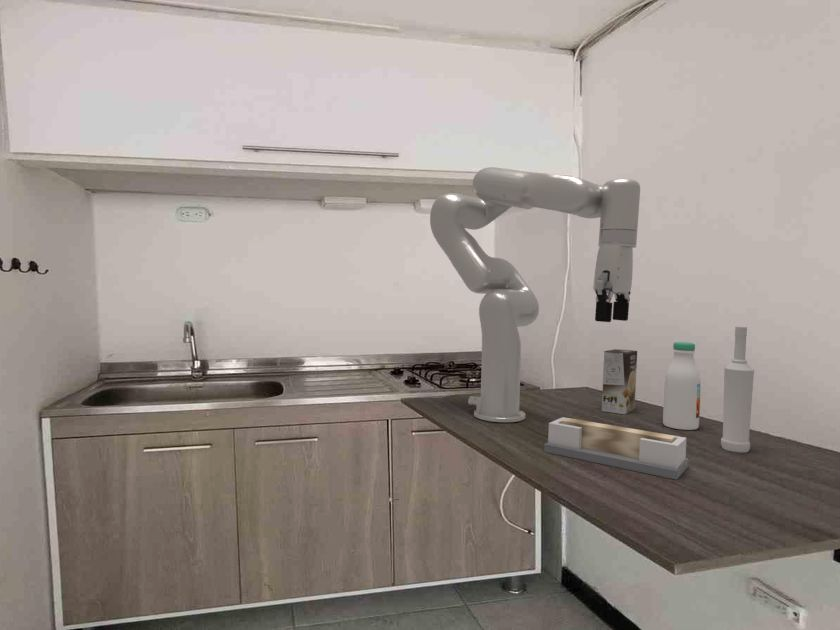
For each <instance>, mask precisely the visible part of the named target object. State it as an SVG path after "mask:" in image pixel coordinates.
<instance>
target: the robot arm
mask: <svg viewBox="0 0 840 630" xmlns="http://www.w3.org/2000/svg"><path fill="white" fill-rule="evenodd" d="M471 186H472V191H473V193H474V194H475V196H476V197H474V196H469V195H467V194H463V193H462V194H461V193H455V192H448V193H444V194H441V195H439V196H438V197H437V198H436V199H435V200H434V202H433V203H432V207H431V209H430V213H429V215H430V216H429V225H430V230H431V233H432V236H433V238H434V239H435V241H436V242H437V244H438V245H439V247H440V249H442V250H441V251H443V252H444V254H445V255H446V257H447V258H448V260H449V261H450V264H452V267H453V268H454V269H455V271H456V272H457V274H458V275H459V277H460V278H461V279H462V282H463V283H464V285H465V286H466V287H467V288H468V290H469V291H470V292H472V293H475V294H481V295H483V294H484V296H483V297H482V299H481V300H480V303H479V307H478V316H479V317H478V318H479V323H480V328H481V330H480V331H481V374H480V377H481V378H480V380H481V381H480V396H475V395H474V396H473V395H470V396H469V397H468V401H467V404H468V405H472V406H475V407H476V409H475V410H473V416H474V417H475V418H477V419H479V420H483V421H485V422H486V421H487V422H492V423H515V422H516V423H517V422H521V421H524V420H525V419H526V413H525V411H523V410H520V395H521V394H520V393H521V392H520V390H521V363H522V361H521V360H522V354H521V353H522V352H521V351H522V345H521V337H520V333H519V330H518V328H521V327H522V328H523V327H526V326H529V325H531V324H533V323H534V322H535V321H536V319H537V318H538V315H539V313H540V305H539V301H538V299H537V297H536V295H535V293H534V292H533V290H532V289H531V288H530V286H529V285H528V283H527V282H526V281H525V279H524V278H523V277H522V275H521V274H520V273H519V271H518V270H517V268H516V267H515V266H514V265H513V264H512V263H511V262H509V261H508V260H506V259H504V258H500V257H493V256H489V255H488V254H487V253H486V252H485V251H484V250H483V248H482V247H481V246H480V243H478V241H477V239H476V238H475V237H474V236H473V235H472V234H471V233H470V232H468V230H473V231H476V230H479V229H482V228H484V227H486V226H488V225H489V224H491V223H492V222H493V221H495V220H496V219H497V218H498V217H500V216H502V215H503V214H505V213H506V212H507V211H508V210H509V209H511V208H512V207H515V208H518V209H524V210H531V209H533V208H535V209H536V208H538V209H543V210H549V211H553V212H554V211H555V212H560V213H566V214H569V215H573V216H577V217H580V218H584V219H598V218H600V219H599V232H598V233H599V235H598V245H597V247H598V252H597V255H596V260H595V261H596V263H595V270H594V277H593V278H594V279H593V286H592V287H593V291H594V292H595V295H596V297H595V303H596V304H595V316H594V320H595V322H601V323H611V322H612V320H613V321H624V322H627V321H628V319H629V308H630V301H631V299H630V298H631V297H630V295H631V293H632V292H631V290H632V283H633V268H634V267H633V265H634V264H633V263H634V260H633V258H634V256H633V255H634V251H633V249H634V248H637V238H638V226H639V215H640V214H639V213H640V211H639V210H640V199H641V185H640V182H638V181H637V180H634V179H629V178H627V179H626V178H615V179H611V180H607V181H606V182H605V183H604V184H602V185H601V184H598V183H594V182H592V181H589V180H586V179H584V178H580V177H575V176H569V175H568V176H567V175H561V174H554V173H546V172H545V173H544V172H532V171H526V170H517V169H509V168H502V167H501V168H500V167H494V166H493V167H492V166H490V167H484V168H481V169H480V170H479V171H478V172H477V173H476V174H475V175H474V177H473V179H472V185H471ZM613 297H614V299H615V301H613V302H612V299H613Z"/></svg>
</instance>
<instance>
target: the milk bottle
mask: <svg viewBox="0 0 840 630" xmlns="http://www.w3.org/2000/svg"><path fill="white" fill-rule="evenodd" d="M672 347H673V356H672V360H671V362H670V364H669V366H668V368H667V370H666V373H665V376H664V386H663V387H664V388H663V389H664V391H663V409H662V411H663V412H662V423H663V425H664V426H665V427H668V428H671V429H677V430H682V431H695V430H697V429H698V428H699V426H700V414H701V413H700V412H701V411H700V410H701V409H700V408H701V407H700V406H701V375H700V371H699V368H698V367H697V364H696V361H695V358H694V356H695V355H694V354H695V349H696V344H695V343H694V342H688V341H687V342H685V341H684V342H683V341H677V342H673V345H672Z"/></svg>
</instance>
